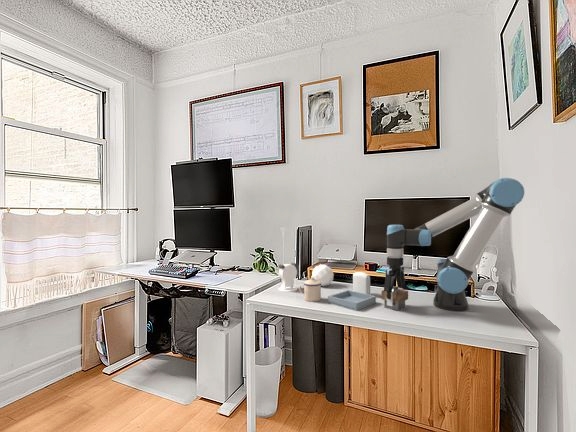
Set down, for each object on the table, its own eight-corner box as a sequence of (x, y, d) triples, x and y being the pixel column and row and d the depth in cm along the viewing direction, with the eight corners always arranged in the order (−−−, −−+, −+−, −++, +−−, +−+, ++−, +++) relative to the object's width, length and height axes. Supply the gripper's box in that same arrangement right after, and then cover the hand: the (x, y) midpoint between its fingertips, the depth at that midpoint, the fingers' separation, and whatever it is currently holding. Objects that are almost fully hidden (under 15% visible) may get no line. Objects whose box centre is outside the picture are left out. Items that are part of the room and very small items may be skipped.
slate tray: (375, 303, 159) (375, 296, 159) (356, 310, 148) (356, 303, 147) (347, 296, 172) (347, 289, 171) (328, 303, 160) (328, 296, 160)
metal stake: (405, 307, 152) (405, 286, 152) (398, 310, 147) (398, 289, 147) (391, 304, 157) (391, 284, 157) (384, 307, 152) (384, 286, 152)
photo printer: (351, 293, 178) (351, 271, 178) (356, 291, 181) (356, 270, 180) (366, 297, 170) (366, 274, 170) (371, 295, 173) (371, 273, 172)
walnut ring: (408, 299, 152) (408, 290, 152) (399, 303, 146) (399, 294, 146) (388, 294, 160) (388, 287, 160) (378, 298, 153) (378, 290, 153)
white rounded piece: (289, 285, 196) (289, 261, 195) (302, 289, 187) (301, 264, 186) (274, 288, 188) (274, 263, 188) (286, 292, 179) (286, 266, 179)
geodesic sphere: (321, 281, 183) (329, 260, 189) (303, 277, 193) (311, 258, 198) (332, 292, 192) (340, 272, 197) (315, 288, 201) (323, 269, 207)
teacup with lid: (323, 298, 168) (323, 276, 168) (317, 302, 160) (317, 280, 160) (302, 295, 173) (302, 274, 173) (296, 300, 165) (296, 277, 165)
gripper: (398, 253, 162) (398, 297, 162) (376, 258, 147) (375, 306, 148) (412, 255, 156) (412, 300, 157) (390, 260, 141) (390, 310, 142)
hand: (394, 303), depth 152 cm, fingers closed on walnut ring, 9 cm apart
